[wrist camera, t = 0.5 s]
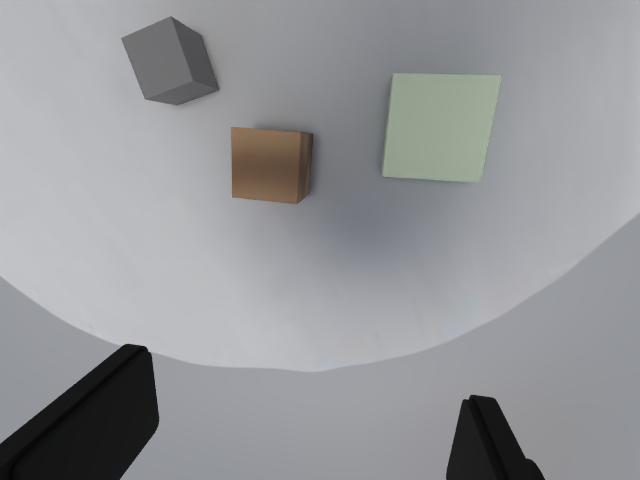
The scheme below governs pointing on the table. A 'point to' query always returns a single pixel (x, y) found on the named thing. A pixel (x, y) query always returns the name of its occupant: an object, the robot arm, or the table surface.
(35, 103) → the table surface
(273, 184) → the walnut cube
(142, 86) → the charcoal block
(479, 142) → the sage block
